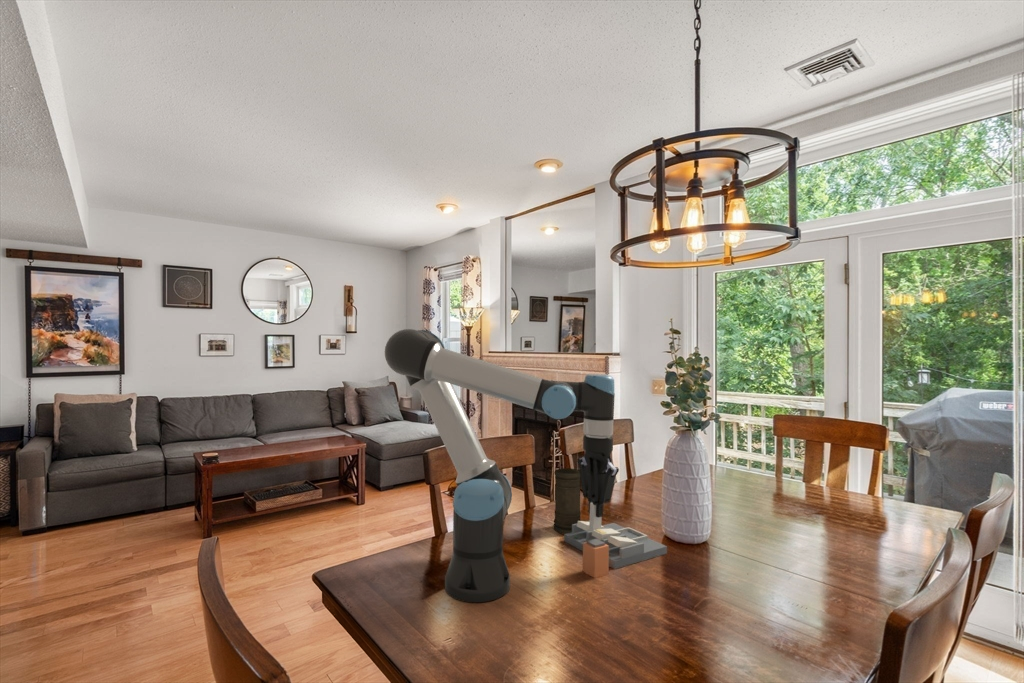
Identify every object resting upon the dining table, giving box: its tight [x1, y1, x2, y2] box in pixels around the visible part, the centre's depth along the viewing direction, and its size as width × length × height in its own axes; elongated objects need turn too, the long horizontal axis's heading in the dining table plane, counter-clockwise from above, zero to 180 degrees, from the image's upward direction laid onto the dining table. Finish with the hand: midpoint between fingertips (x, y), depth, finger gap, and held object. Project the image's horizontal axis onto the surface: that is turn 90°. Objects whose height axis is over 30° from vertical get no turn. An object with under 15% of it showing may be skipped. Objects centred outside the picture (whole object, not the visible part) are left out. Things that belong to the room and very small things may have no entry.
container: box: [552, 467, 582, 535], centre depth 152 cm, size 9×9×18 cm
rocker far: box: [577, 520, 605, 531], centre depth 143 cm, size 7×4×2 cm, turn 121°
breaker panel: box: [563, 520, 668, 570], centre depth 138 cm, size 19×21×4 cm
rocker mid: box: [592, 528, 621, 540], centre depth 137 cm, size 7×4×2 cm, turn 121°
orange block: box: [582, 539, 610, 579], centre depth 123 cm, size 4×4×8 cm
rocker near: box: [608, 536, 638, 547], centre depth 131 cm, size 7×4×2 cm, turn 121°
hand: (595, 528), depth 125 cm, fingers closed
